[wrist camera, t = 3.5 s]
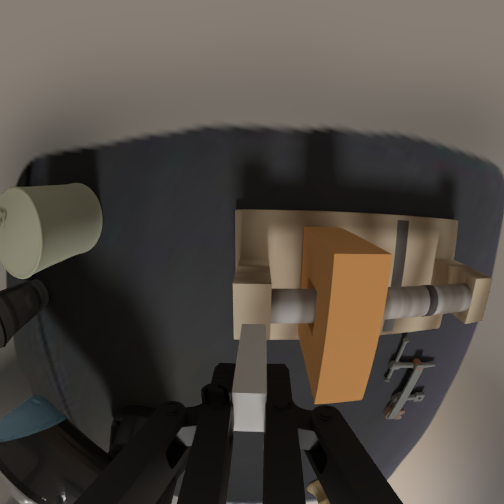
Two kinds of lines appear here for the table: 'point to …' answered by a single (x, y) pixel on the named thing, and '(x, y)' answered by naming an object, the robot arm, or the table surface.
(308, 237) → the orange slotted block
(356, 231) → the pipe rig
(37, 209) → the pale green cylinder
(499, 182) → the table surface
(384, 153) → the table surface
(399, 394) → the clamp
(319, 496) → the hand bell
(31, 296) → the beverage cup
